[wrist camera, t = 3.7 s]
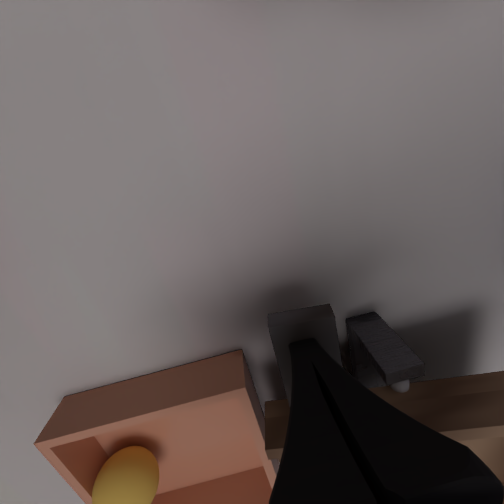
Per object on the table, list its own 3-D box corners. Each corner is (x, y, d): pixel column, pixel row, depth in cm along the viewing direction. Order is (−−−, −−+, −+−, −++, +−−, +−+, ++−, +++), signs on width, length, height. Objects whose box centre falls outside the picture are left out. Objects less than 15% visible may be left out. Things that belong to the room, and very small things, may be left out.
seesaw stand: (374, 311, 17) (424, 363, 13) (384, 432, 22) (422, 500, 18) (345, 318, 17) (385, 373, 13) (361, 439, 22) (394, 507, 18)
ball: (137, 421, 19) (153, 465, 16) (157, 454, 21) (176, 500, 17) (77, 465, 17) (82, 526, 14) (104, 498, 19) (114, 560, 15)
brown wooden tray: (593, 250, 11) (703, 287, 9) (534, 462, 17) (588, 527, 14) (239, 313, 13) (232, 359, 11) (292, 483, 19) (297, 543, 16)
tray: (241, 349, 17) (245, 387, 15) (278, 459, 22) (286, 504, 19) (64, 396, 17) (33, 444, 14) (137, 497, 22) (124, 548, 19)
